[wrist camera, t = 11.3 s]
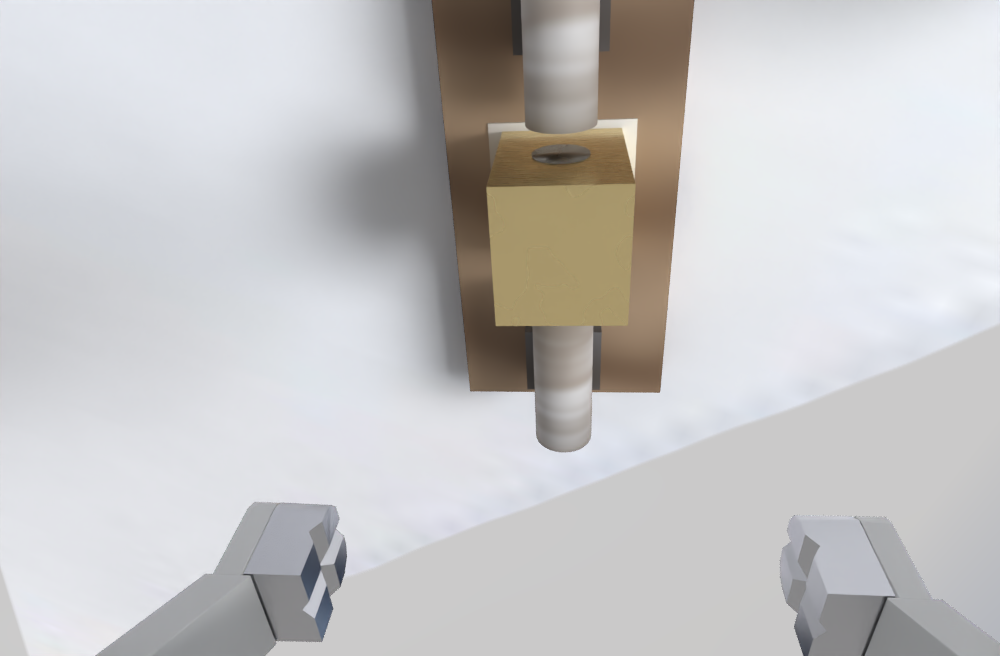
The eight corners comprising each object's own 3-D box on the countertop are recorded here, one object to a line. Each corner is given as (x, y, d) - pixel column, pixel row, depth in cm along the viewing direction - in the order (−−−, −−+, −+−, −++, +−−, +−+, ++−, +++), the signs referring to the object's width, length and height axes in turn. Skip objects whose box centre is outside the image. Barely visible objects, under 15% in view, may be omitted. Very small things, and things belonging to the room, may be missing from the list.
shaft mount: (430, -98, 23) (394, -98, 18) (696, -116, 22) (731, -121, 18) (473, 372, 34) (458, 450, 29) (656, 373, 33) (671, 454, 28)
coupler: (502, 130, 26) (486, 185, 21) (621, 126, 25) (635, 182, 20) (508, 251, 28) (495, 327, 23) (616, 250, 28) (628, 327, 23)
